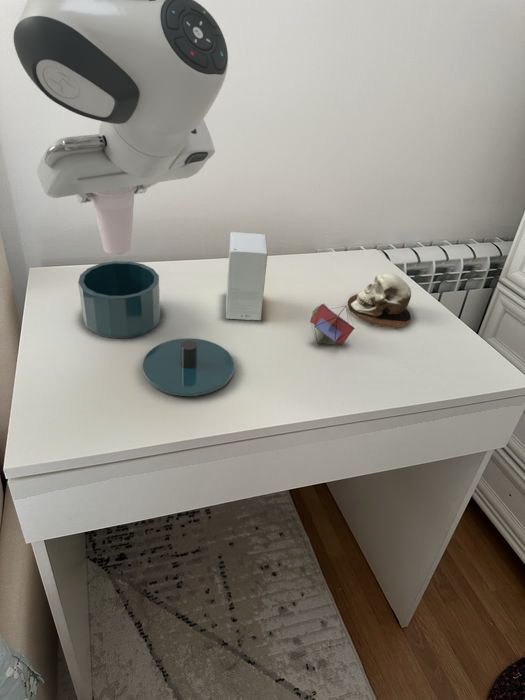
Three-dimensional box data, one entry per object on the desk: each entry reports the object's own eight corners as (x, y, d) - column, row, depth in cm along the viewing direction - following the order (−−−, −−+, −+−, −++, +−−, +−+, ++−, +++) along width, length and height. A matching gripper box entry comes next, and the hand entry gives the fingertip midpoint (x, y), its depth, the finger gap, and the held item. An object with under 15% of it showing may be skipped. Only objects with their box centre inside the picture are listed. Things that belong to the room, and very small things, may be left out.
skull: (356, 326, 93) (354, 268, 94) (342, 334, 103) (341, 282, 105) (422, 326, 94) (420, 270, 95) (402, 335, 104) (400, 283, 106)
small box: (261, 321, 94) (268, 253, 87) (225, 319, 94) (228, 251, 86) (260, 298, 101) (266, 233, 93) (226, 296, 100) (229, 231, 93)
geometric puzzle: (366, 330, 91) (346, 289, 88) (353, 350, 85) (332, 306, 83) (331, 340, 95) (311, 301, 93) (316, 359, 90) (295, 319, 88)
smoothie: (133, 237, 79) (127, 138, 71) (146, 255, 74) (140, 152, 66) (89, 242, 76) (77, 140, 68) (99, 261, 72) (87, 154, 64)
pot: (118, 347, 84) (115, 307, 80) (68, 317, 90) (62, 278, 86) (175, 317, 93) (174, 278, 88) (125, 291, 98) (122, 254, 94)
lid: (190, 412, 73) (191, 386, 71) (123, 371, 80) (121, 345, 77) (251, 368, 83) (253, 343, 80) (186, 334, 89) (187, 310, 86)
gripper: (61, 172, 54) (41, 229, 66) (226, 151, 65) (184, 202, 77) (37, 115, 54) (22, 181, 66) (207, 103, 65) (168, 162, 77)
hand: (111, 193), depth 71 cm, fingers closed on smoothie, 6 cm apart
